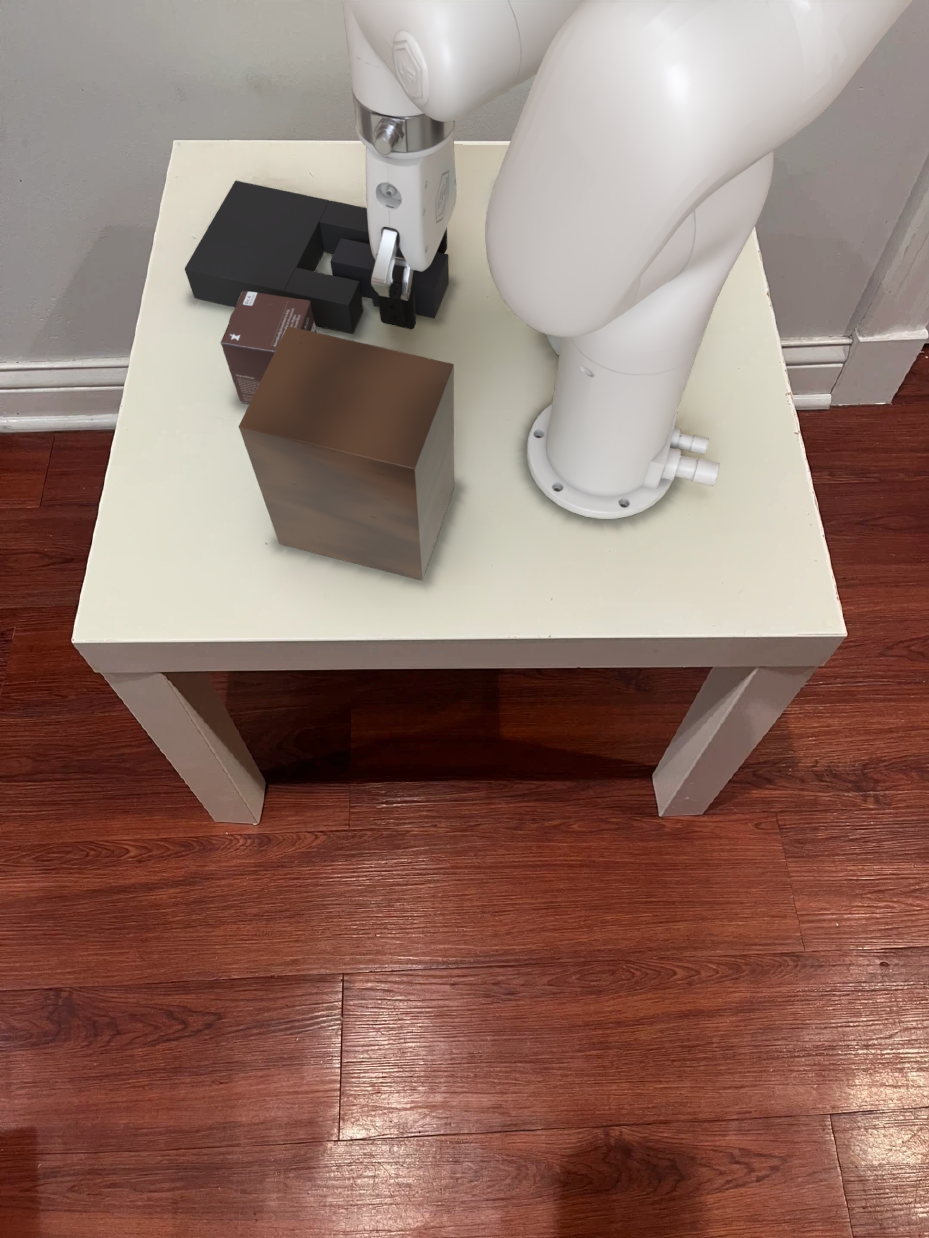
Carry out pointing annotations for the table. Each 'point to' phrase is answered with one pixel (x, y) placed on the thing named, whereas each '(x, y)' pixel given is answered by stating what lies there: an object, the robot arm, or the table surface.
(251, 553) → the table surface
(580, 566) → the table surface
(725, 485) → the table surface
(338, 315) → the socket pad
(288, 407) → the block
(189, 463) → the table surface
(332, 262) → the tab pad
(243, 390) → the box
